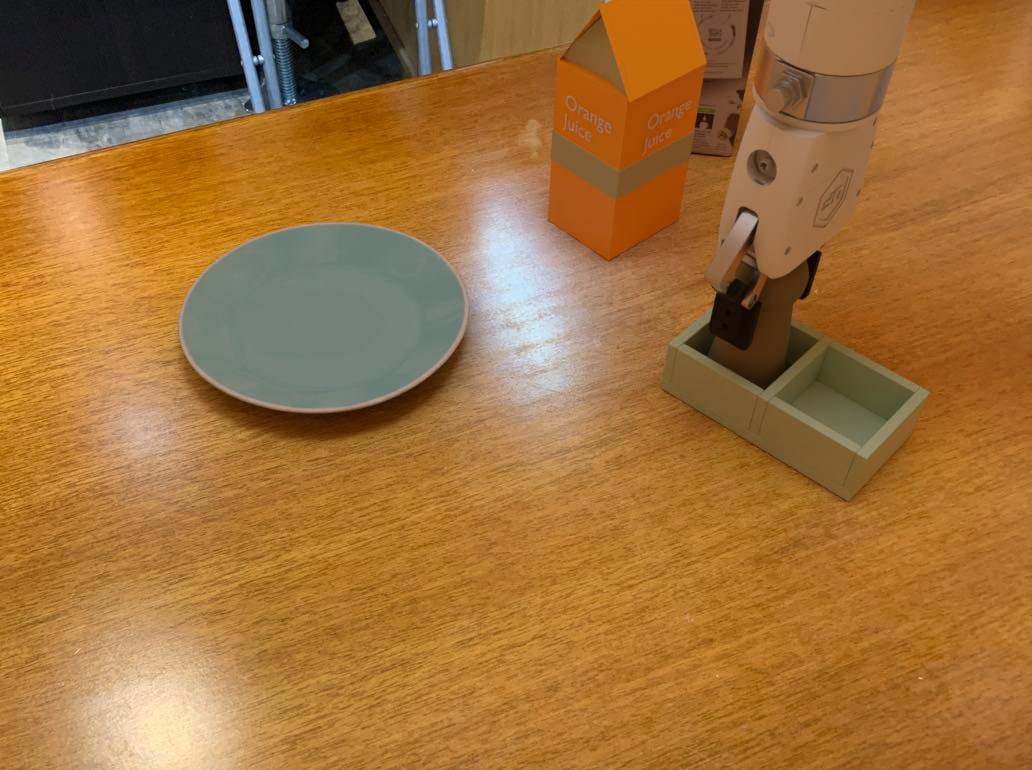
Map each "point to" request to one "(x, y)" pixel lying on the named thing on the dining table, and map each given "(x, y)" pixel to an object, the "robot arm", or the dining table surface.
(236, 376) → the plate
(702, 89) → the coffee box
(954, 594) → the dining table surface
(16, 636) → the dining table surface
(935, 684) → the dining table surface
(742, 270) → the brown pawn
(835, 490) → the tray
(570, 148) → the orange juice
